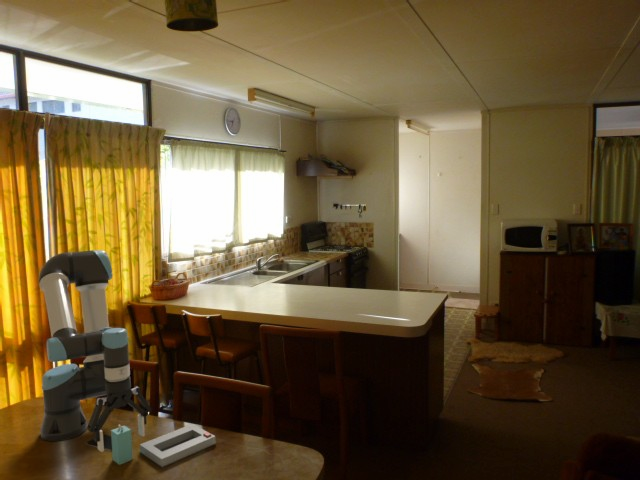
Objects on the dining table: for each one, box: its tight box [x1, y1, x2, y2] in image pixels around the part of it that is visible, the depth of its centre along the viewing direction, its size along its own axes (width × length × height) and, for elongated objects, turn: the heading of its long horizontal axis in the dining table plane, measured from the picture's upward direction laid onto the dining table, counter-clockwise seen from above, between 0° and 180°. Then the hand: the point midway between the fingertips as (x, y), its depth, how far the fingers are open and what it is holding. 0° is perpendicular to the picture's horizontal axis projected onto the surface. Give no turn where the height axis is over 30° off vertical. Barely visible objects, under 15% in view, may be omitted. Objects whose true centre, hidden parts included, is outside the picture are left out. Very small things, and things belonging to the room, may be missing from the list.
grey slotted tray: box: [139, 423, 217, 468], centre depth 176 cm, size 14×20×3 cm
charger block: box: [110, 424, 134, 466], centre depth 169 cm, size 4×4×11 cm
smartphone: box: [85, 433, 133, 452], centre depth 181 cm, size 8×1×15 cm
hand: (122, 442), depth 169 cm, fingers open, 13 cm apart
